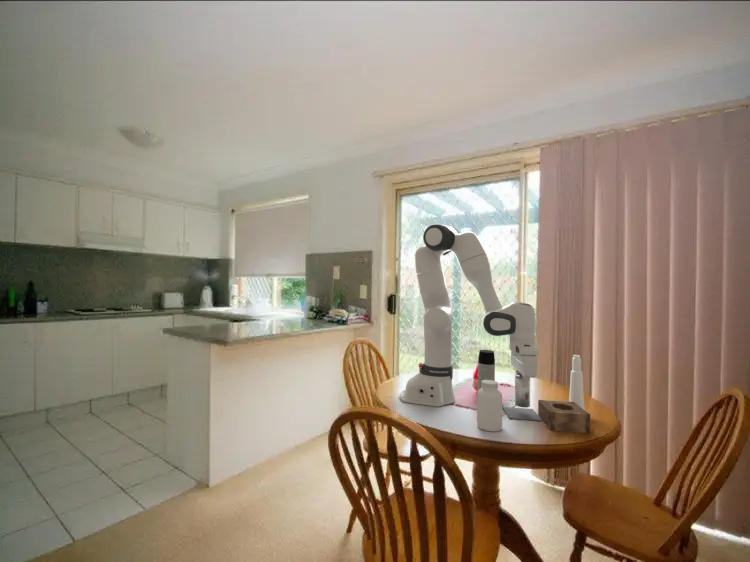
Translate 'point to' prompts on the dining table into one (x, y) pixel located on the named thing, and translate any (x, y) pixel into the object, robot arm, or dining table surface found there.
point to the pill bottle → (489, 406)
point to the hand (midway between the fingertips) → (522, 383)
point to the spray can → (486, 366)
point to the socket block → (564, 416)
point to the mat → (521, 414)
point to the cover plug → (521, 392)
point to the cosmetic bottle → (576, 382)
